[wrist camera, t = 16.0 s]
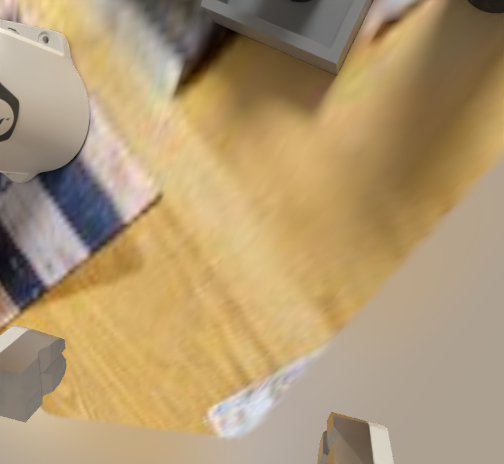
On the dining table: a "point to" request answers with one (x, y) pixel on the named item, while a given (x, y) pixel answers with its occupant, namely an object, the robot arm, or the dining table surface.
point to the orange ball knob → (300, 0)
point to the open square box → (296, 26)
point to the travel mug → (489, 5)
